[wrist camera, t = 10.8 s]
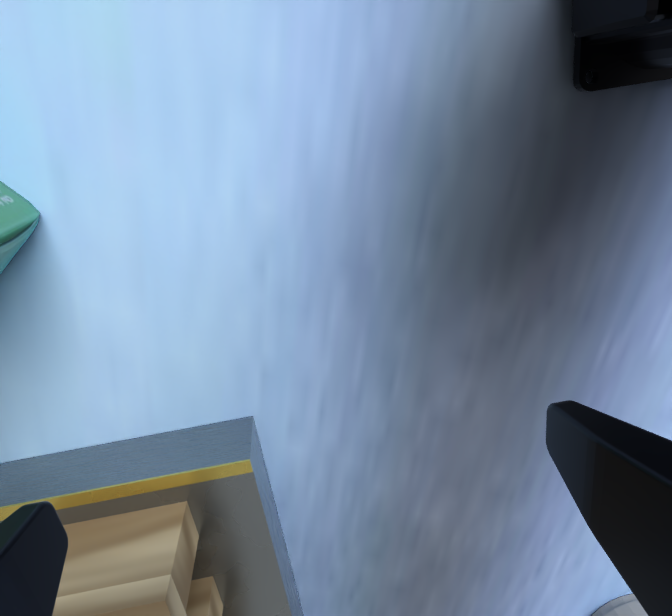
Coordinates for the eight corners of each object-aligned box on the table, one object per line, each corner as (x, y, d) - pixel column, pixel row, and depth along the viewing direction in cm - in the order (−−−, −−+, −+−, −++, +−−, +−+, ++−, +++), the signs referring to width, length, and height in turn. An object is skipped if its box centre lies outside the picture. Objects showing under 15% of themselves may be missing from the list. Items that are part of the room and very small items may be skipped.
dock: (252, 416, 23) (247, 494, 18) (303, 616, 29) (309, 715, 24) (-34, 469, 22) (-113, 564, 18) (75, 664, 28) (35, 775, 23)
